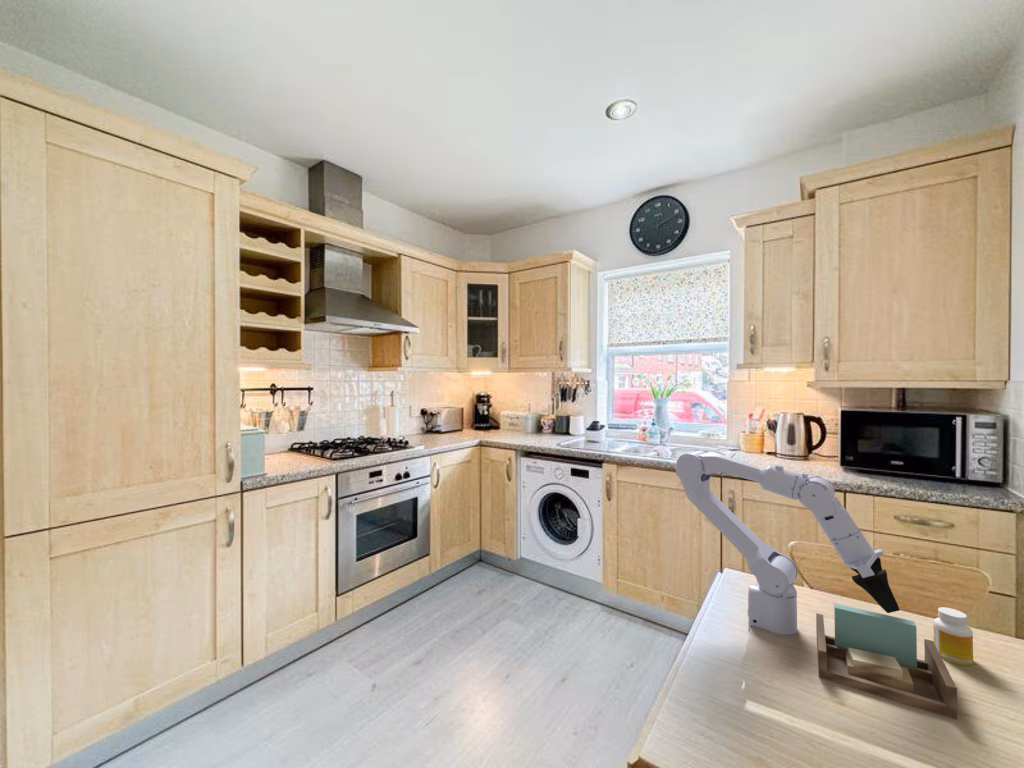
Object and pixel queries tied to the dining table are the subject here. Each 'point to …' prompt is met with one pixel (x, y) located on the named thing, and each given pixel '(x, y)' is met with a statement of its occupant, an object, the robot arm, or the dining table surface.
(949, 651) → the supplement bottle
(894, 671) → the ash offcut
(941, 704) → the walnut rack
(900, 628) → the teal sheet
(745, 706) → the dining table surface
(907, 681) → the oak offcut
